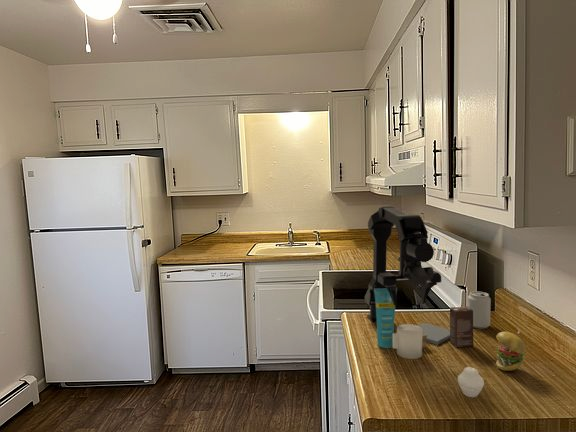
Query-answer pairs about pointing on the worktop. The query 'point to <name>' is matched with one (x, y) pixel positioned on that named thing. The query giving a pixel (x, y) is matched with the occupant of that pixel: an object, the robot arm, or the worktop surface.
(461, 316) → the box
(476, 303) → the can
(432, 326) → the coaster
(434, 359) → the worktop surface
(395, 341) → the white tapered cup
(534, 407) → the worktop surface
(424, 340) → the walnut block
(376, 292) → the tube
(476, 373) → the muffin
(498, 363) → the hamburger
